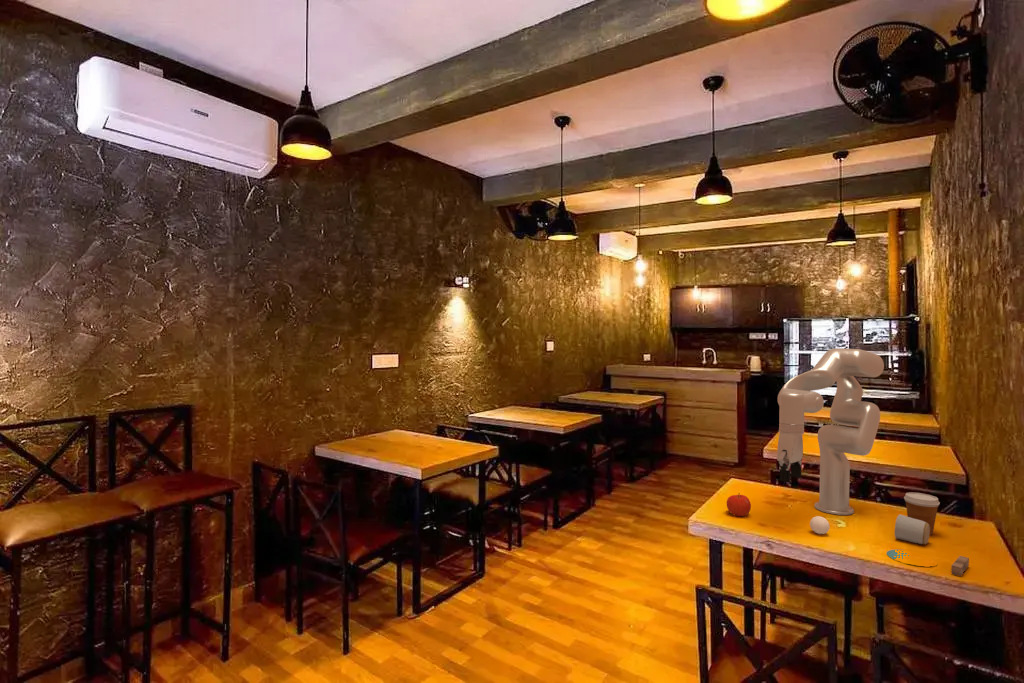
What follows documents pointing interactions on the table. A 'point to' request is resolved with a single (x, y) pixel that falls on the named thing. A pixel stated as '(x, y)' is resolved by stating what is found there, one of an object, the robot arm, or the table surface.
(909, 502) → the disposable coffee cup
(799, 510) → the table surface
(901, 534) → the grey cylinder
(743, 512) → the apple
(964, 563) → the strip
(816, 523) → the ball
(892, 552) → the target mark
